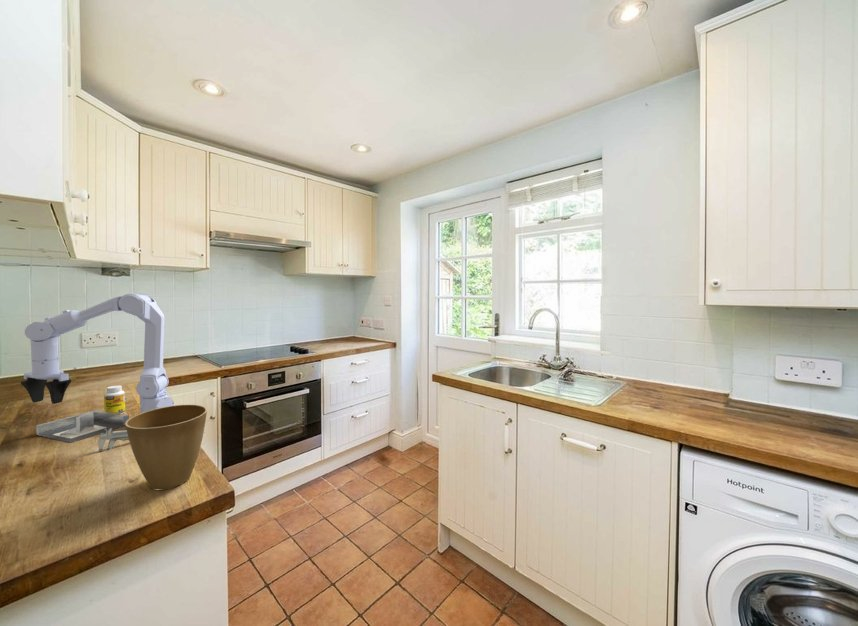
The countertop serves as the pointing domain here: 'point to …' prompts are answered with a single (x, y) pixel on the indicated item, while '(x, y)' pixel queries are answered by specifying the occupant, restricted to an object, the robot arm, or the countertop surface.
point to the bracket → (81, 425)
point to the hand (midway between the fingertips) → (47, 402)
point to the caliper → (111, 438)
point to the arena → (59, 426)
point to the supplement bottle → (114, 400)
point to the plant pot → (167, 443)
